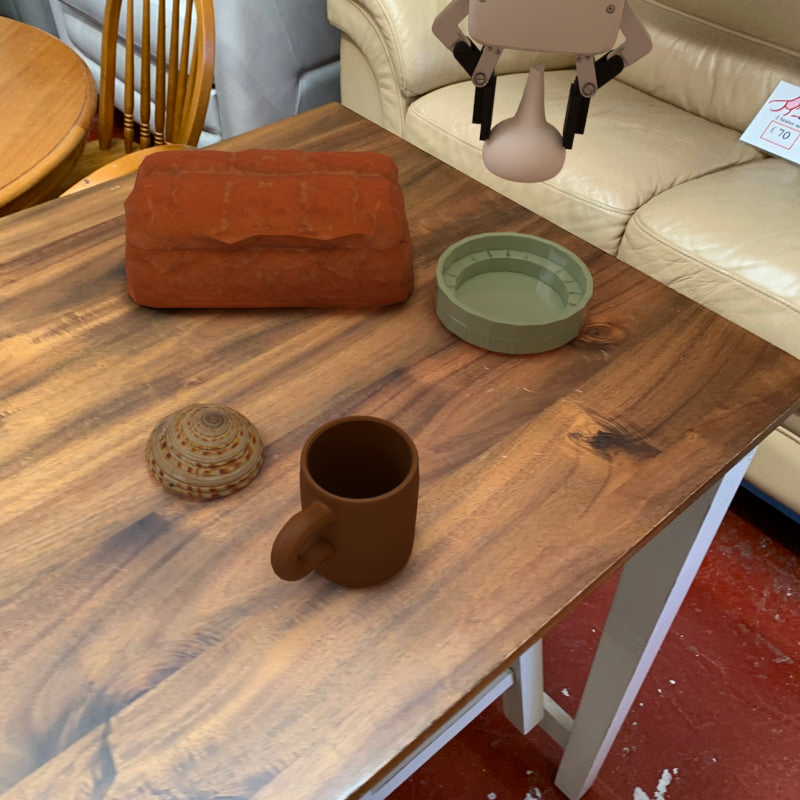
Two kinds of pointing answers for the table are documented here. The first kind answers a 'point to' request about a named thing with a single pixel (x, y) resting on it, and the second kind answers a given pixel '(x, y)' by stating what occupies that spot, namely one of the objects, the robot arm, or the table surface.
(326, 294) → the bread
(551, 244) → the bowl
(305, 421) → the table surface
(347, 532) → the mug
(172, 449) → the seashell
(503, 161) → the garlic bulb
